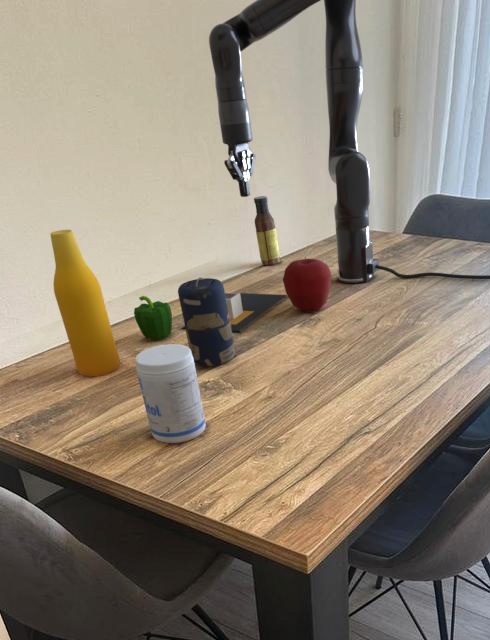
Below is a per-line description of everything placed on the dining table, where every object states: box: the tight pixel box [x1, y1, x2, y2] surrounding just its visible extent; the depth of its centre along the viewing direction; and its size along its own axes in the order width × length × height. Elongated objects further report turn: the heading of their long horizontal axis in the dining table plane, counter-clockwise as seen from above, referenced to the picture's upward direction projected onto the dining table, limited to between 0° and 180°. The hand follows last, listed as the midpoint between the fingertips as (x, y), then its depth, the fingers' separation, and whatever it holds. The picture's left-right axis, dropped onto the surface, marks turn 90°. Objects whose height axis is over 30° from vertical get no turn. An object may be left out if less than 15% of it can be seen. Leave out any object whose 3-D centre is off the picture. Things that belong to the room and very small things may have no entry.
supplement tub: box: [134, 343, 207, 444], centre depth 115 cm, size 10×10×15 cm
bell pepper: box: [133, 295, 173, 341], centre depth 160 cm, size 8×8×10 cm
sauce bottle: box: [253, 195, 281, 266], centre depth 208 cm, size 7×6×20 cm
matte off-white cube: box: [225, 292, 243, 319], centre depth 169 cm, size 5×5×5 cm
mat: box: [182, 292, 288, 334], centre depth 174 cm, size 16×28×1 cm, turn 158°
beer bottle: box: [49, 229, 121, 377], centre depth 140 cm, size 9×9×29 cm
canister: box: [177, 277, 236, 367], centre depth 141 cm, size 10×10×18 cm
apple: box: [282, 256, 332, 313], centre depth 167 cm, size 12×12×13 cm
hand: (245, 196), depth 175 cm, fingers closed
